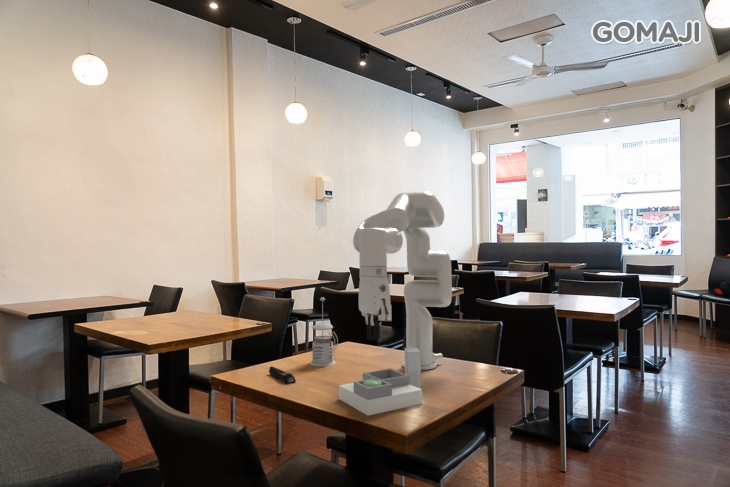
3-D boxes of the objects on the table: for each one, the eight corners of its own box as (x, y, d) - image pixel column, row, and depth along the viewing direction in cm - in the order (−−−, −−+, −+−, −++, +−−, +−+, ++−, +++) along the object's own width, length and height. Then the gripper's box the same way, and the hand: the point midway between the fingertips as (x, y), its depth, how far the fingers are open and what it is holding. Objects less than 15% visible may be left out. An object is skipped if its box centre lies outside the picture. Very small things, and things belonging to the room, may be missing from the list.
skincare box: (404, 384, 155) (404, 347, 155) (417, 384, 155) (417, 347, 155) (407, 390, 149) (407, 351, 149) (421, 390, 149) (421, 351, 149)
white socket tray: (390, 389, 150) (390, 366, 150) (422, 403, 137) (422, 378, 137) (339, 399, 141) (339, 374, 141) (367, 415, 127) (367, 389, 127)
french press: (321, 358, 190) (321, 295, 190) (344, 363, 184) (344, 297, 184) (304, 364, 182) (304, 297, 183) (327, 368, 176) (327, 299, 176)
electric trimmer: (276, 373, 171) (276, 364, 171) (296, 383, 158) (296, 373, 158) (266, 375, 168) (266, 366, 168) (286, 385, 156) (286, 375, 156)
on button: (375, 388, 136) (375, 378, 136) (385, 392, 132) (385, 383, 132) (360, 391, 134) (360, 381, 134) (369, 395, 129) (369, 385, 129)
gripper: (400, 273, 129) (400, 342, 129) (370, 270, 142) (370, 333, 142) (376, 274, 125) (376, 345, 125) (348, 271, 138) (348, 336, 138)
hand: (373, 339), depth 133 cm, fingers closed
